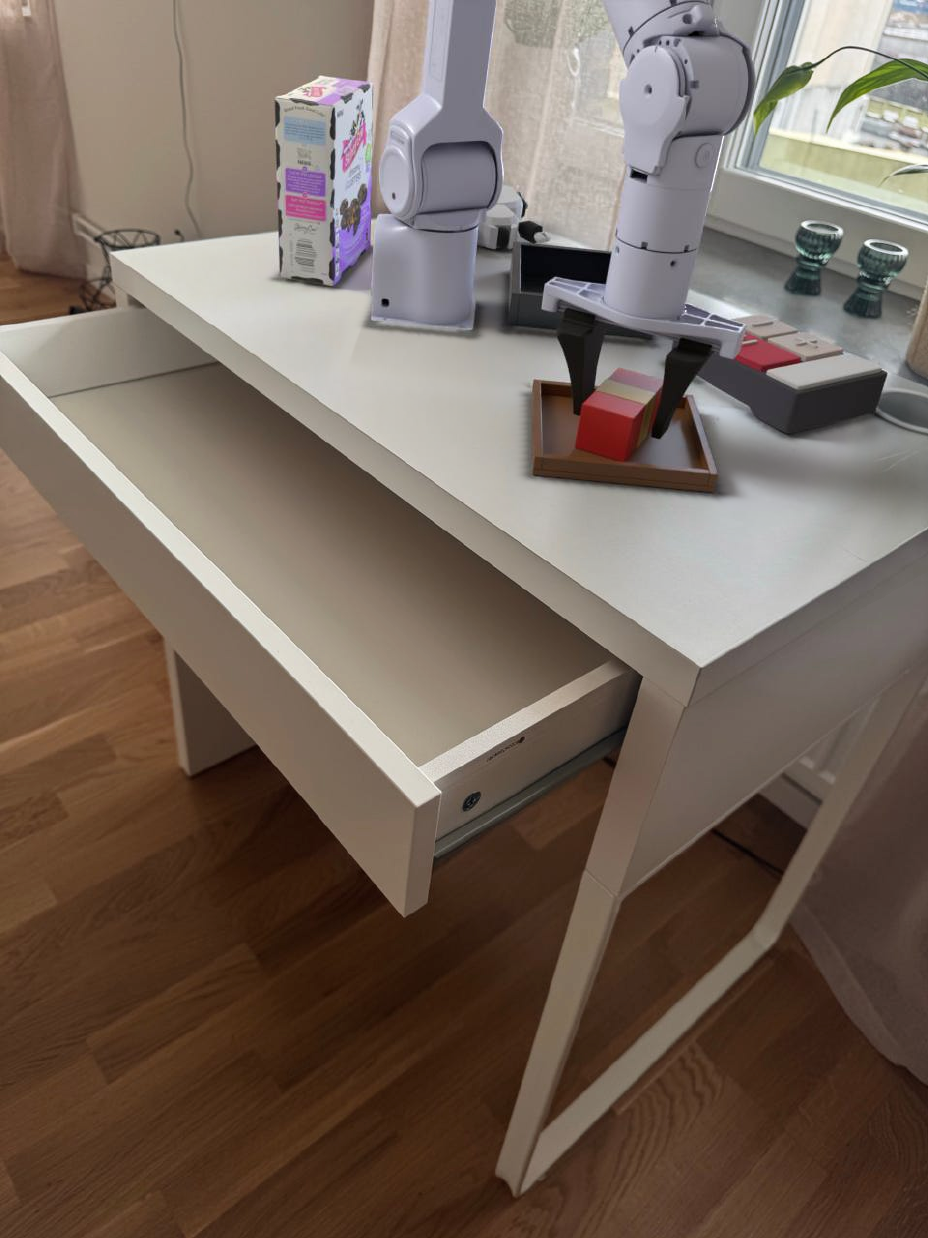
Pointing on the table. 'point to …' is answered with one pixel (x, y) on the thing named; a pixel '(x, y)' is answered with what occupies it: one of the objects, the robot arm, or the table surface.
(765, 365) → the calculator
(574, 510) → the table surface
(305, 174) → the candy box
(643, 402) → the red yellow banded block
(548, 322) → the dark grey open bin
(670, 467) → the tray
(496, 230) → the robot toy
